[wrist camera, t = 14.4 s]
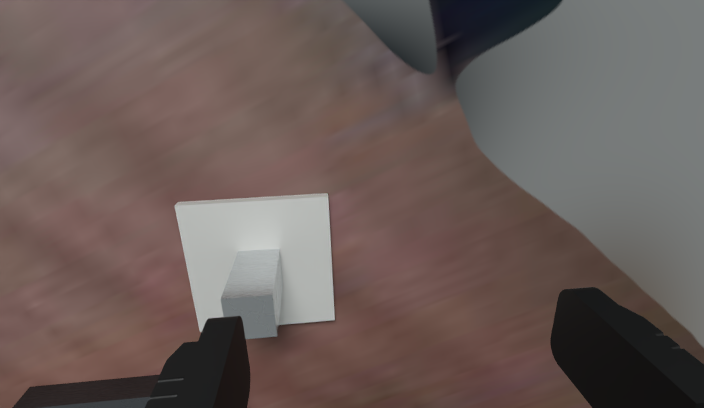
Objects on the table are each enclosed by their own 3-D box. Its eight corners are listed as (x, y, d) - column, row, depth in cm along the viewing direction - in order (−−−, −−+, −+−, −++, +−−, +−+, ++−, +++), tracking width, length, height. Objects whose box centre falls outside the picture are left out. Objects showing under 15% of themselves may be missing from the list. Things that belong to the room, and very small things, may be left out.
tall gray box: (242, 286, 40) (227, 340, 32) (237, 251, 38) (220, 298, 31) (283, 283, 40) (277, 336, 33) (279, 248, 39) (272, 294, 31)
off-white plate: (202, 325, 42) (199, 331, 41) (177, 201, 37) (174, 205, 36) (334, 314, 43) (334, 320, 42) (327, 193, 38) (328, 196, 37)
